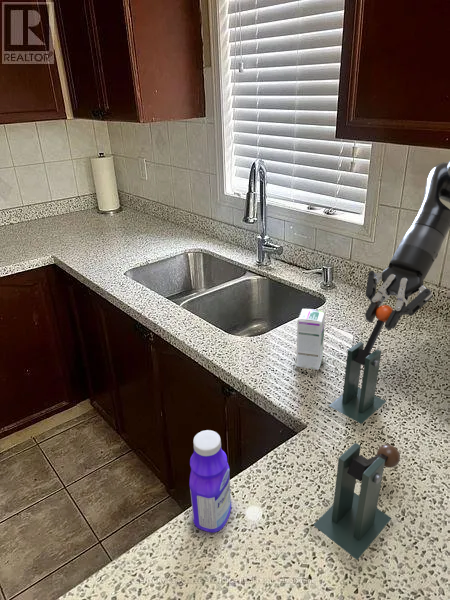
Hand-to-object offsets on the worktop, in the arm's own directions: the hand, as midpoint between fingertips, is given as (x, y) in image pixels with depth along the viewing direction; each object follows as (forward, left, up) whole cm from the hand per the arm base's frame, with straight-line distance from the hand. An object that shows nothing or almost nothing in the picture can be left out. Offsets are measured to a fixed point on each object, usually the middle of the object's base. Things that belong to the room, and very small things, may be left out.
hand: (377, 324), depth 90 cm
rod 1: (0, -1, -3) cm, 3 cm away
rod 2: (-5, +29, -10) cm, 31 cm away
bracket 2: (-4, +33, -19) cm, 38 cm away
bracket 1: (+1, +4, -19) cm, 19 cm away
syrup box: (+15, -7, -19) cm, 26 cm away
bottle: (+17, +41, -19) cm, 48 cm away
